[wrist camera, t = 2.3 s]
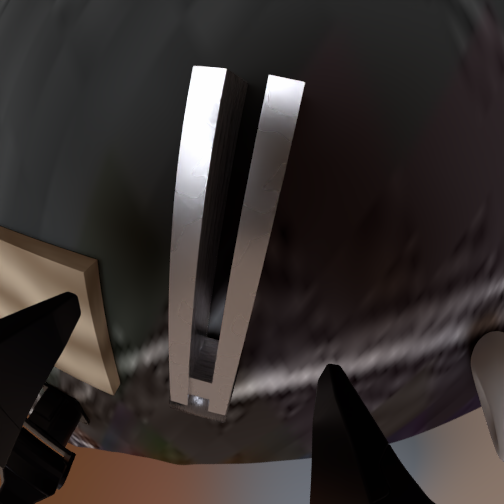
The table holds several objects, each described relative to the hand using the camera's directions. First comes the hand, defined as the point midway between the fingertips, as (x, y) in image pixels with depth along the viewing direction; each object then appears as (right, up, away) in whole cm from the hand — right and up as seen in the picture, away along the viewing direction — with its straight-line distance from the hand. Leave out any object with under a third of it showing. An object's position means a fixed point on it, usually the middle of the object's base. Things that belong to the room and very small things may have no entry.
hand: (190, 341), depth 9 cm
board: (-19, -1, +10) cm, 22 cm away
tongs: (+1, +2, +6) cm, 6 cm away
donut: (+19, -4, +6) cm, 20 cm away
